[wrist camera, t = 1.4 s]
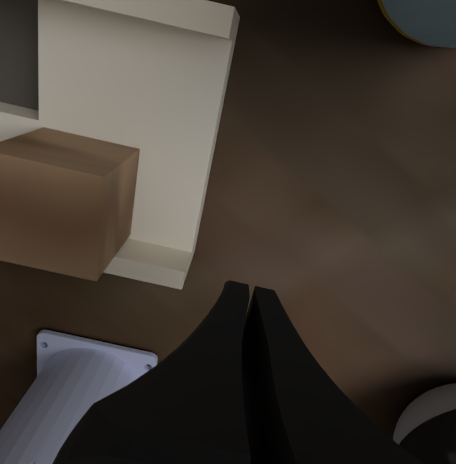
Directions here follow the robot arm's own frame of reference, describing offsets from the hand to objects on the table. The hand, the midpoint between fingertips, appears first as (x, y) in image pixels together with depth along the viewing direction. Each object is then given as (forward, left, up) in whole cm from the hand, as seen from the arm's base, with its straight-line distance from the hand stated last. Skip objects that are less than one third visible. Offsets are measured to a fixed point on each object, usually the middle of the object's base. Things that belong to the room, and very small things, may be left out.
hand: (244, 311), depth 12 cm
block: (0, +8, -7) cm, 11 cm away
